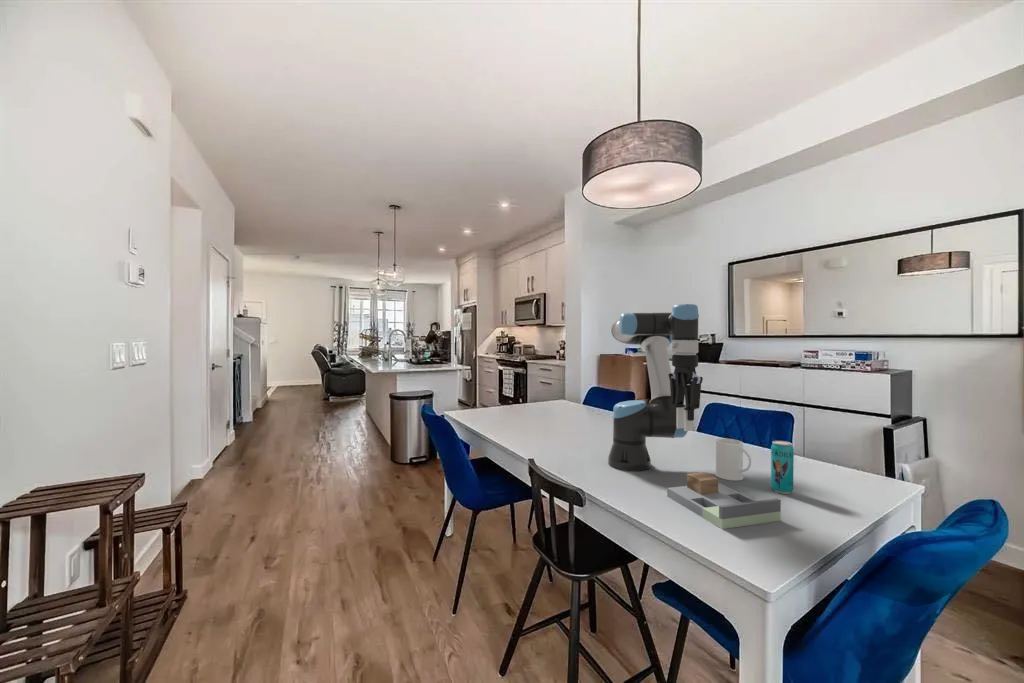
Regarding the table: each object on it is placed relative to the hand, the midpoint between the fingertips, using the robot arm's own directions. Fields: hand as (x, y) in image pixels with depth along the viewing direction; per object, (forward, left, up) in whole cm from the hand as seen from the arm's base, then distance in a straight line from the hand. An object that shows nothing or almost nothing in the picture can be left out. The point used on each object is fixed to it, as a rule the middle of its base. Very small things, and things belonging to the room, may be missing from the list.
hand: (684, 429), depth 130 cm
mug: (-4, +22, -19) cm, 29 cm away
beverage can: (+10, +27, -19) cm, 34 cm away
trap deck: (+15, 0, -19) cm, 24 cm away
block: (+8, 0, -16) cm, 18 cm away
